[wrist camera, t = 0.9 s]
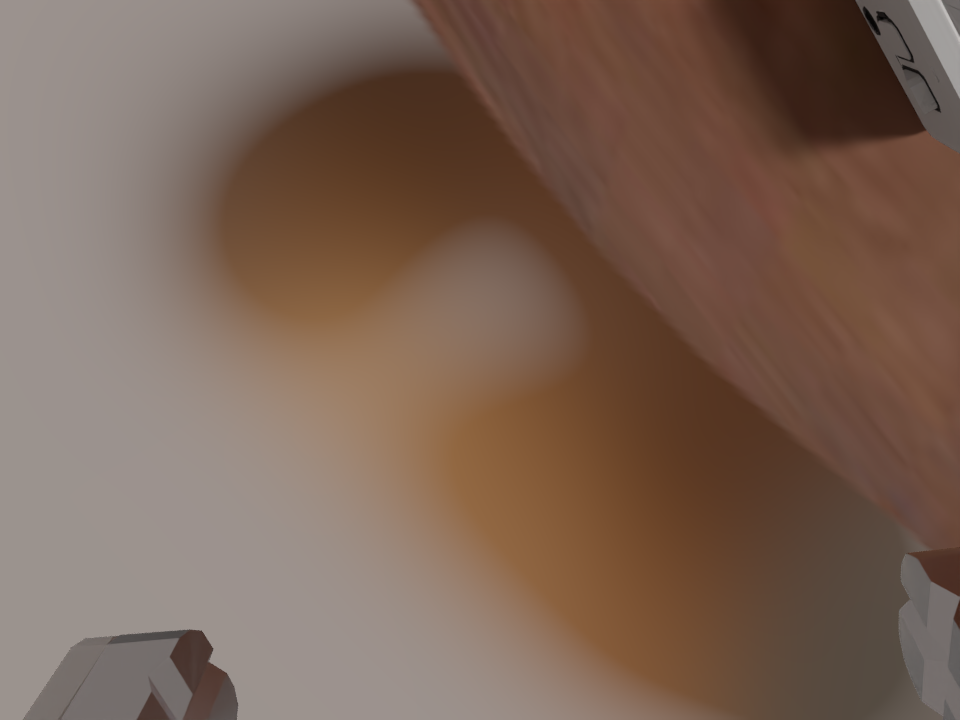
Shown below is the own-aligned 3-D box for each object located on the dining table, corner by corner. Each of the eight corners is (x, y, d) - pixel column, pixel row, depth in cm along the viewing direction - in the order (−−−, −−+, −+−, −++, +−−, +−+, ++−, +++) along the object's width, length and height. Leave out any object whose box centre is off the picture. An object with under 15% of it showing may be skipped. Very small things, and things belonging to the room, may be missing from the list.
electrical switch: (836, -36, 35) (840, -5, 28) (958, -119, 32) (997, -109, 25) (928, 134, 38) (953, 203, 30) (1049, 71, 34) (1110, 131, 27)
